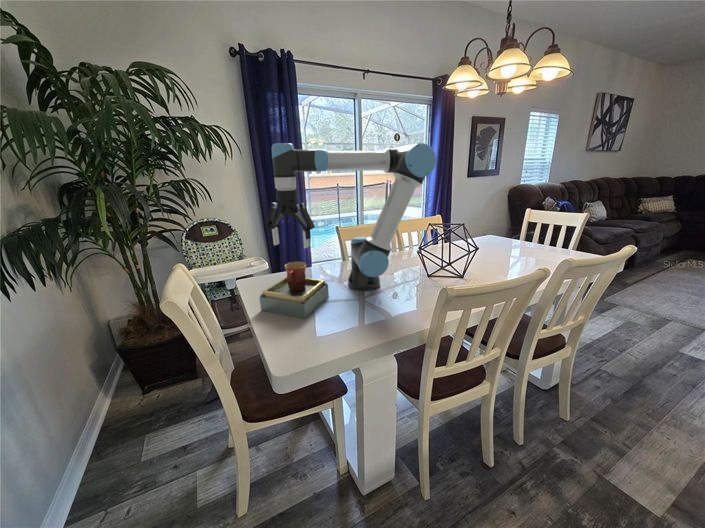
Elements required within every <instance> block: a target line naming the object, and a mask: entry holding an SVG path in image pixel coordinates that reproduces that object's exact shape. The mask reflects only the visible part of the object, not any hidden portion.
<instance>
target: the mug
mask: <svg viewBox="0 0 705 528" xmlns="http://www.w3.org/2000/svg"><path fill="white" fill-rule="evenodd" d="M284 268H285V271H286V277H287V281H288V287H289V289H290V290H292V291H301V290H303V289H305V288H306V278H307V277H306V276H307V275H306V268H307V263H306V262H303V261H292V262H288V263H286V264H285V265H284Z"/></svg>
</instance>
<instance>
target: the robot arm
mask: <svg viewBox="0 0 705 528" xmlns="http://www.w3.org/2000/svg"><path fill="white" fill-rule="evenodd" d="M271 159H272V168H273V169H272V170H273V176H274V177H273V178H274V189H275V198H276V199H275V200H276V201H277V202H270V204H269V207H270V208H269V212H268V213H267V214H268V215H267V219H266V222H265V227H267V228H269V229H270V235H271V237H272V241H273V242H272V244H273V246H277V245H279V244H280V235H279V228H278V227H277V225H278V224H279V223H280V221H281V219H282V218H283V216H292V217H293V218H295V219H296V221H297V222H298V224H299V225H300V227H301V228H303V231H302V240H303V248H304V249H308V248H309V247H310V239H311V230H313V229H315V228H316V227H315V224H314V222H313V220H312V219H311V216H310V214H309V212H308V210H307V207H306V206H307V205H306V203H304V202H301V203H298V190H297V179H296V177H297V176H296V173H309V172H310V173H311V172H314V173H315V172H317V173H319V172H342V171H344V172H345V171H347V172H349V171H350V172H352V171H353V172H356V171H357V172H358V171H361V172H362V171H366V172H367V171H369V172H370V171H383V172H384V173H385V174H393V176H394V181H393V183H392V186H391V189H390V191H389V192H388V196H387V197H386V200H385V203H384V204H383V207H382V209H381V211H380V214H379V216H378V218H377V219H376V223H375V225H374V227H373V229H372V232H371V234H370V236H355V237H352V238H351V239H350V252H351V253H350V260H351V270H350V273H349V276H348V278H347V286H348V287H349V288H351V289H353V290H356V291H372V290H375V289H377V288H380V286H381V280H380V276H382V275H384V273H385V272H387V270H388V268H389V264H390V263H389V256H390V254H391V252H392V247H391V244H392V241H393V238H394V237H395V234H396V231H397V229H398V227H399V226H400V224H401V220H402V218H403V217H404V214H405V212H406V210H407V207H408V205H409V203H410V202H411V199H412V197H413V194H414V193H415V191H416V189H417V188H418V187H419V188H420V187H421V186H422V185H423V183H424V180H425V178H426V177H427V176H429V175H430V174H431V173H432V172H433V171H434V170H435V168H436V164H437V156H436V153H435V150H434V149H433V147H431V146H430V145H428V144H427V143H424V142H423V143H422V142H415V143H412V144H407V145H403V146H398V147H393V148H385V149H384V150H383V151H382V150H381V151H380V150H375V151H374V150H372V151H371V150H367V151H366V150H355V151H354V150H349V151H347V150H341V151H340V150H336V151H335V150H331V151H330V150H327V149H319V148H315V149H313V148H312V149H310V148H309V149H308V148H307V149H297V148H296V149H295V147H294V144H293V143H289V142H288V143H287V142H286V143H285V142H284V143H283V142H281V143H280V142H279V143H278V142H277V143H273V144H272V146H271ZM277 209H278V210H277ZM276 212H277V213H276Z"/></svg>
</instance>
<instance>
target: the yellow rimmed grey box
mask: <svg viewBox="0 0 705 528" xmlns="http://www.w3.org/2000/svg"><path fill="white" fill-rule="evenodd" d="M325 281H326V280H325V279H318V278H311V277H306V288H305V289H303V290H301V291H292V290H290V289H289V287H288V281H287V276H285V277H283V278H282V279H280V280H279V281H277V282H275V283H273V284H272V285H270V286H269V287H267V288H266V289H264V290H262V291H261V292H262V293H260V296H259V297H258V298H259V302H260V310H261V311H263V312H269V313H273V314H277V315H283V316H289V317H294V318H298V319H299V318H300V319H303V320H304V319H307V318H308V317H309V316H310V315H311V314H312V313H314V311H315V310H317V308H318V307H320V306H321V305H322V304H323V303H324V302H326V300H327V299H328V298H329V283H327V282H325Z"/></svg>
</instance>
